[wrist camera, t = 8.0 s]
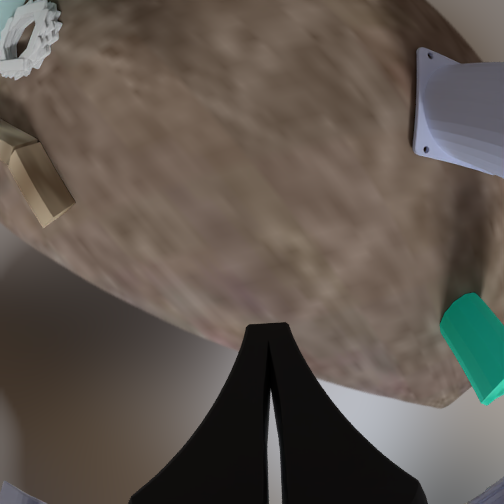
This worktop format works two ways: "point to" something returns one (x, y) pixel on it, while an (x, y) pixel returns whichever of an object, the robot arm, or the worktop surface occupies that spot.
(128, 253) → the worktop surface
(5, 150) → the pocket
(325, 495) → the robot arm
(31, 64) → the l-shaped corner panel
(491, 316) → the candle
